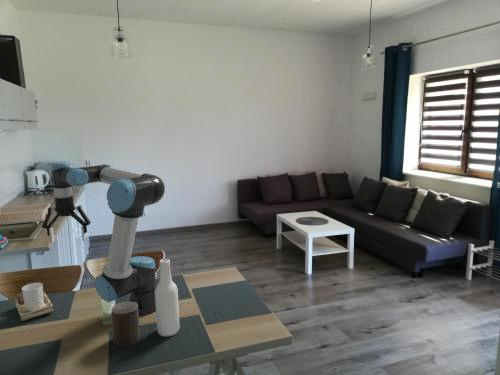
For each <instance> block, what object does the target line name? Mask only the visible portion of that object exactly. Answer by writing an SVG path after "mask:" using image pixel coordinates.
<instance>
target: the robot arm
mask: <svg viewBox="0 0 500 375" xmlns="http://www.w3.org/2000/svg"><path fill="white" fill-rule="evenodd" d="M50 169H51V172H50V173H51V176H52V177H51V179H52V186H53V196H54V205H55V206H54V207H52V206H50V207H48V208H47V214H46V216H45V219H44V220H43V223H42V225H41V227H42V228H41V229H46V233H47V236H48V237H49V238H50V244H53V243H55V235H54V227H52V226H53V225H54V224H55V222H56V221H57V220H58V218H59V217H62V218H63V217H71V218H74V220H76V221H77V223H79V224H80V225H81V227H80V229H81V238H82V242H83V241H85V240H86V233H88V227H87V226H90V225H91V224H92V222H91V220H90V219H89V217H88V216H87V215H86V213H85V211H84V210H83V208H82V205H81V204H79V205H78V206H77V205H76V206H75V205H74V204H75V202H74V197H73V194H74V193H73V187H83V186H85V185H87V184H92V183H94V184H95V183H103V184H106V185H107V184H108V185H109V187H108V188H107V192H106V201H107V206H108V208H109V209H110V210H111V213H112V214H113V215H114V221H113V227H112V233H111V240H110V246H109V251H108V258H107V262H106V263H105V264H104V265H103V267H102V272H101V274H98V275H97V276H96V277H95V278H94V287H95V290H96V293H97V294H98V295H99V297H100V298H101V299H102V301H104V302H108V303H110V302H113V301H117V300H118V299H120V298H122V297H124V296H127V295H128V299H127V302H135V303H137V305H138V315H139V316H143V315H148V314H151V313H152V314H153V313H155V312H156V304H155V288H156V286H157V273H156V272H157V271H156V270H157V268H156V262H155V259H153V258H152V257H149V256H140V255H139V256H133V257H132V254H133V249H134V244H135V240H136V239H135V238H136V232H137V227H138V222H139V221H138V220H139V218H141V217H142V216H143V215H144V211H145V207H148V206H150V205H154V204H155V205H156V203H158V202H160V201H161V199H162V198H163V197H164V195H165V192H166V191H165V189H166V188H165V187H166V186H165V182H164V181H163V180H162V179H161V178H160V177H159V176H158V175H155V174H151V173H142V174H140V173H137V172H136V173H134V172H130V171H127V170H122V169H117V168H115V167H113V166H112V165H111V164H100V165H99V164H98V165H91V166H90V165H89V166H81V167H71V165H70V162H67V161H60V162H53V163H51V165H50ZM75 210H76V211H77V212H78V213H79V215H80V216H79V215H78V214H77V213H76V212H75ZM53 212H55V213H56V214H55V216H54V217H53V218H52V220H51V221H50V218H51V216H52V213H53ZM49 221H50V222H49Z"/></svg>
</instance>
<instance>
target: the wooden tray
mask: <svg viewBox="0 0 500 375" xmlns="http://www.w3.org/2000/svg"><path fill="white" fill-rule="evenodd" d="M43 298H44V299H43V302H44V306H43V307H42V308H41V309H38V310H35V311H27V310H26V307H25V304H24V305H20V304H19V303H18V298H16V299H14V305H15V308H16V310H17V312H18V315H19V317H20V320H21V321H24V322H28V320H30V319H33V318H36V317H39V316H42V315H45V314H46V315H47V314H48V315H50V314H52V313H51V312H54V309H55V308H54V305H53V304H52V302H51V300H50V298H49V297H48V295H47V294H46V292H45V291H43Z"/></svg>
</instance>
